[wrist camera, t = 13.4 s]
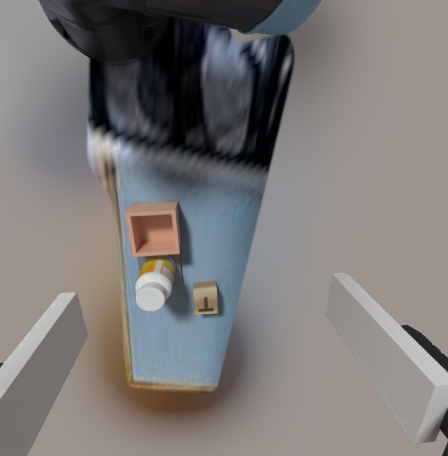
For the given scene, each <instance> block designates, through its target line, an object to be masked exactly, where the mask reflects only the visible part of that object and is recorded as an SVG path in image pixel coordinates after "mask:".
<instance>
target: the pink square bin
mask: <svg viewBox="0 0 448 456" xmlns="http://www.w3.org/2000/svg"><path fill="white" fill-rule="evenodd" d="M125 214H126V220H127V226H128V232H129V238H130V244H131V250H132V256H133V257H141V256H155V255H170V254H180V247H181V232H180V222H179V211H178V201H166V202H147V203H133V204H132V205H131V206H130V208H129V209H128V210H127V211H126V212H125Z"/></svg>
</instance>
